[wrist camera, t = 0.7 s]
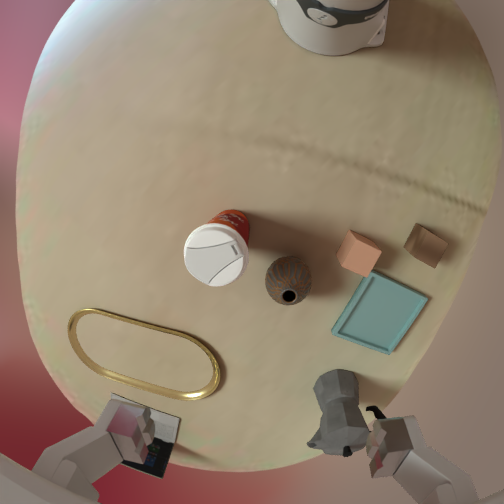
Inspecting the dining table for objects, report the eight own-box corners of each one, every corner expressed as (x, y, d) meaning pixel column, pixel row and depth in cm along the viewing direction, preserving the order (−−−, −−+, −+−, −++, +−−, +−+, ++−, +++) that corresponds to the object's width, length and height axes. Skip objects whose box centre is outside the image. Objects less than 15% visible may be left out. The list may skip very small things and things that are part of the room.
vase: (259, 259, 49) (255, 282, 41) (301, 244, 48) (305, 266, 40) (275, 295, 51) (273, 324, 43) (314, 282, 50) (320, 309, 42)
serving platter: (216, 403, 62) (215, 408, 61) (77, 361, 63) (74, 365, 61) (227, 338, 56) (226, 343, 54) (66, 295, 56) (62, 299, 55)
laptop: (180, 416, 65) (166, 458, 53) (175, 441, 69) (162, 479, 57) (111, 391, 65) (89, 427, 52) (113, 418, 69) (94, 452, 57)
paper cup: (242, 194, 46) (228, 214, 33) (264, 238, 48) (259, 275, 35) (197, 215, 48) (168, 243, 35) (220, 258, 50) (200, 299, 37)
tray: (369, 268, 48) (371, 271, 47) (424, 295, 49) (428, 299, 48) (331, 329, 53) (332, 334, 51) (387, 350, 54) (389, 355, 52)
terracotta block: (348, 229, 47) (356, 239, 42) (372, 241, 47) (381, 251, 42) (335, 254, 48) (341, 266, 43) (359, 265, 48) (367, 277, 44)
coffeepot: (304, 403, 60) (307, 472, 43) (302, 371, 56) (307, 445, 40) (374, 394, 58) (393, 459, 41) (379, 362, 55) (404, 430, 38)
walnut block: (415, 222, 45) (428, 231, 41) (435, 234, 45) (448, 243, 41) (403, 246, 47) (414, 257, 42) (422, 257, 47) (434, 268, 42)
